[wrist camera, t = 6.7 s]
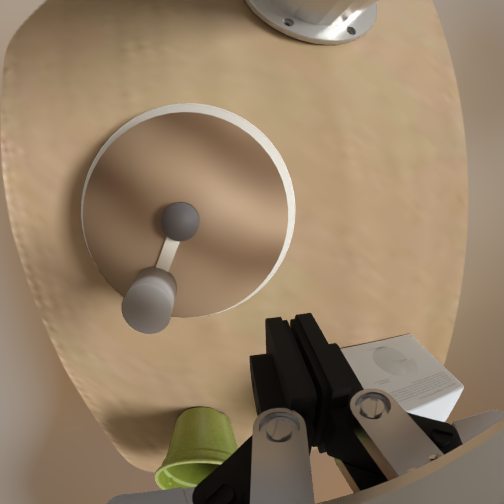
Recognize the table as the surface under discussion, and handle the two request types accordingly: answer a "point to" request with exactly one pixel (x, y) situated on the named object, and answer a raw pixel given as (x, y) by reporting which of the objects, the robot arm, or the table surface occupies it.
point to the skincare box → (406, 375)
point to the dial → (184, 217)
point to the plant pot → (196, 448)
